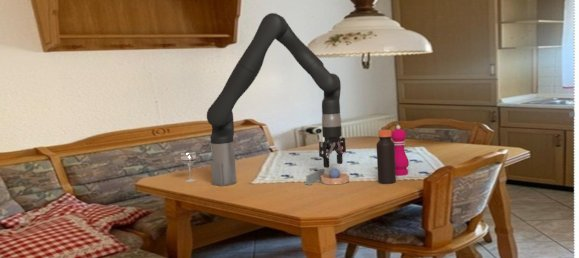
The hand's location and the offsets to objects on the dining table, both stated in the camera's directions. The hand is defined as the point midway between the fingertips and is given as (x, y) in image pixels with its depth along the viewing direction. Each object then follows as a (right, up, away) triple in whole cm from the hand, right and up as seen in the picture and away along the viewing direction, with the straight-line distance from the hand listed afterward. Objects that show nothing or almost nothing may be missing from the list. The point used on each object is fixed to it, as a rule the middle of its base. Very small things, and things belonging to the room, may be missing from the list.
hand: (333, 165), depth 225 cm
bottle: (+20, -6, -6) cm, 22 cm away
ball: (+1, -6, +1) cm, 6 cm away
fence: (-7, -6, +5) cm, 10 cm away
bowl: (+1, -6, +1) cm, 7 cm away
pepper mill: (+28, -4, +7) cm, 29 cm away
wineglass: (-60, -8, +21) cm, 64 cm away
